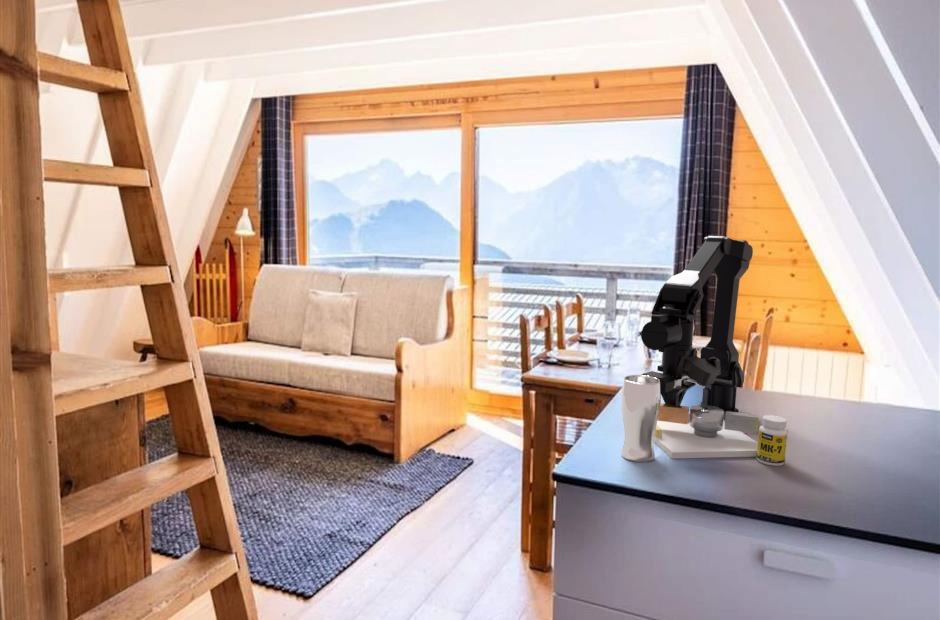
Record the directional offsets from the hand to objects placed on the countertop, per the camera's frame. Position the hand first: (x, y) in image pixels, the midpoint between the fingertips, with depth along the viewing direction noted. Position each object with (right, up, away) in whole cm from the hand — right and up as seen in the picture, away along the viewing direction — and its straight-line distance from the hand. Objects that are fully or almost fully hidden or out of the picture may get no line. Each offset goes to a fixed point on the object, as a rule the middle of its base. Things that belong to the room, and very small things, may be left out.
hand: (673, 415), depth 134 cm
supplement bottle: (+13, -6, -15) cm, 21 cm away
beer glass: (-11, -6, -13) cm, 18 cm away
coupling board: (+4, -4, -4) cm, 7 cm away
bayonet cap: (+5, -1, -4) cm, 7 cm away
